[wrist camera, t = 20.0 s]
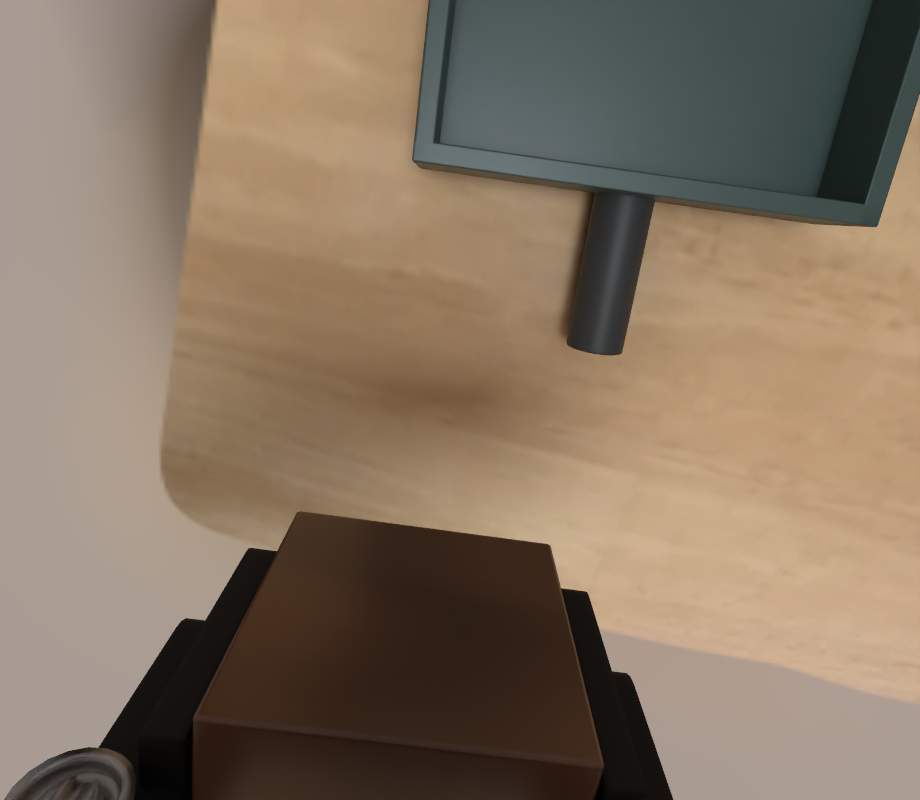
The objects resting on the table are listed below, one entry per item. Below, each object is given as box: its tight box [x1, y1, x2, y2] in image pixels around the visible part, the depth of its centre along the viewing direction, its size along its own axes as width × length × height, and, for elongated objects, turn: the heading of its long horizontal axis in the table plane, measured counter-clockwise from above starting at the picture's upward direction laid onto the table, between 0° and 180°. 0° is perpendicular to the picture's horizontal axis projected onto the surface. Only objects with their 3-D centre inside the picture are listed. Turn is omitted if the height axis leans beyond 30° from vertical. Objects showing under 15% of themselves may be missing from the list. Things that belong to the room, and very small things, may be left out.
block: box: [192, 511, 604, 800], centre depth 9 cm, size 4×4×4 cm
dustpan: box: [412, 0, 920, 355], centre depth 19 cm, size 17×14×4 cm
